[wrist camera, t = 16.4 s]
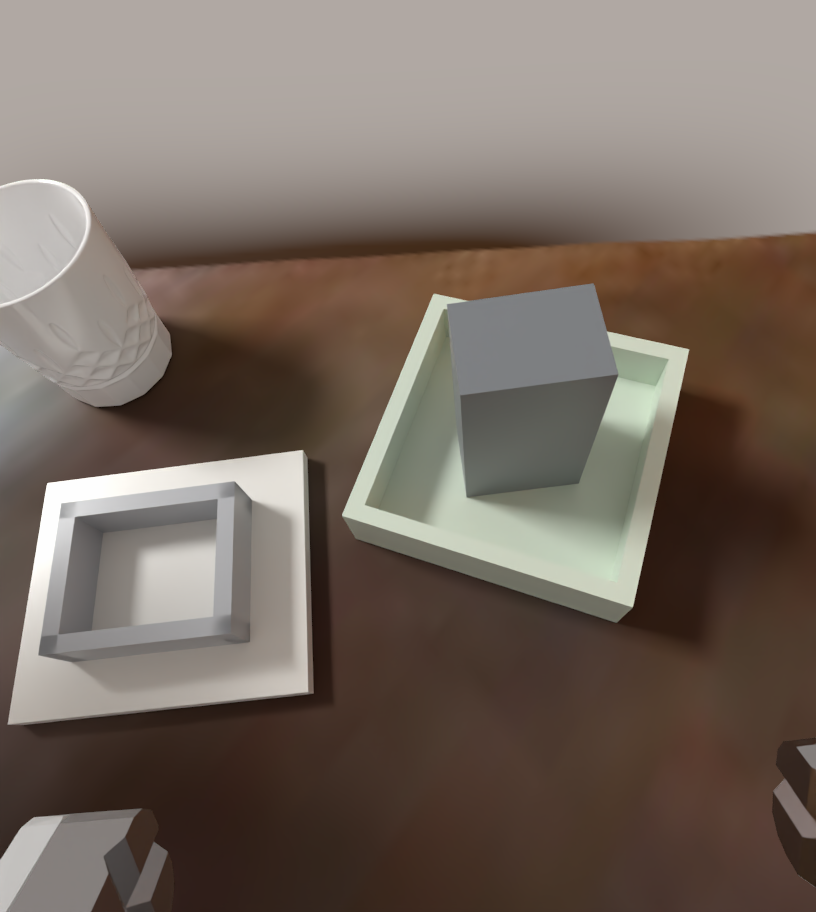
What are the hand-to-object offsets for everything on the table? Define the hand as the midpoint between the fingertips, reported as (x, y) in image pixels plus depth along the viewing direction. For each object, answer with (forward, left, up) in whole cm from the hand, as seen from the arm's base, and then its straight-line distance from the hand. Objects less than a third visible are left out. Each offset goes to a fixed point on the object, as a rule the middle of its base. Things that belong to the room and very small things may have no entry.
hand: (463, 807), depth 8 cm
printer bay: (-17, +3, -21) cm, 27 cm away
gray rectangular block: (-2, +14, -20) cm, 25 cm away
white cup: (-27, +14, -21) cm, 37 cm away
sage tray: (-2, +14, -21) cm, 25 cm away
